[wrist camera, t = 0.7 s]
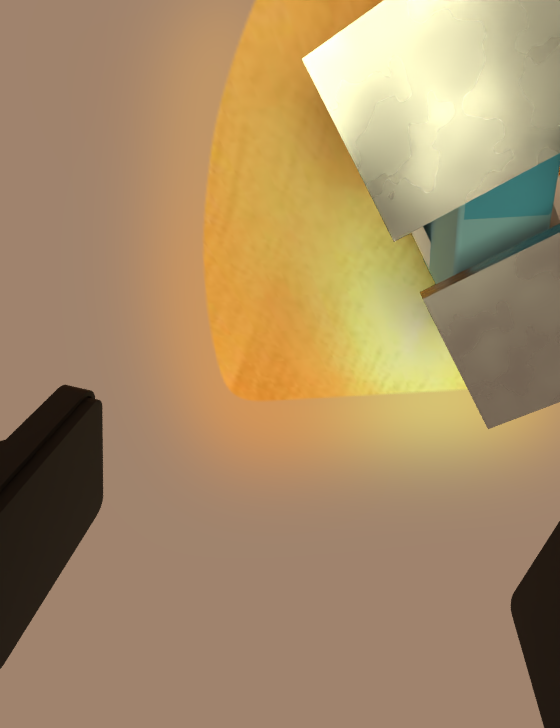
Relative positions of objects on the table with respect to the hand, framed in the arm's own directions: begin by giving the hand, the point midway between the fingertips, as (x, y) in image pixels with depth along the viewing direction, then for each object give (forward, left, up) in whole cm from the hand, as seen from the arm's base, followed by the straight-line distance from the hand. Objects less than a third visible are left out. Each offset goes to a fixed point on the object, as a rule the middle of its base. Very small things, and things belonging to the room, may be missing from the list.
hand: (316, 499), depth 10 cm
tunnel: (-9, +2, -31) cm, 32 cm away
